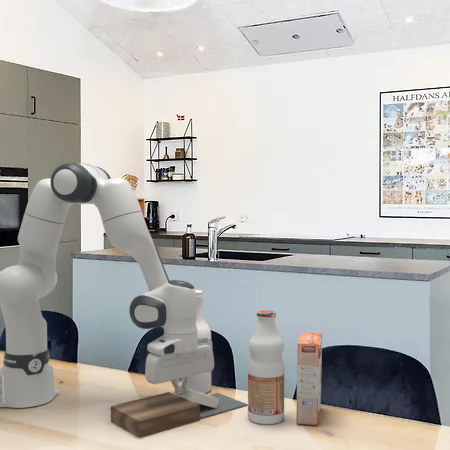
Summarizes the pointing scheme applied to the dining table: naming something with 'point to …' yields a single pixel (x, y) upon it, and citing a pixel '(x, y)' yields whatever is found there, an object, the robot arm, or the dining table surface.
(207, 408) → the mat
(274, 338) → the fruit juice
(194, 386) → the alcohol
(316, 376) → the cracker box
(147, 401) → the board
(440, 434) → the dining table surface
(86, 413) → the dining table surface
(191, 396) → the tile
